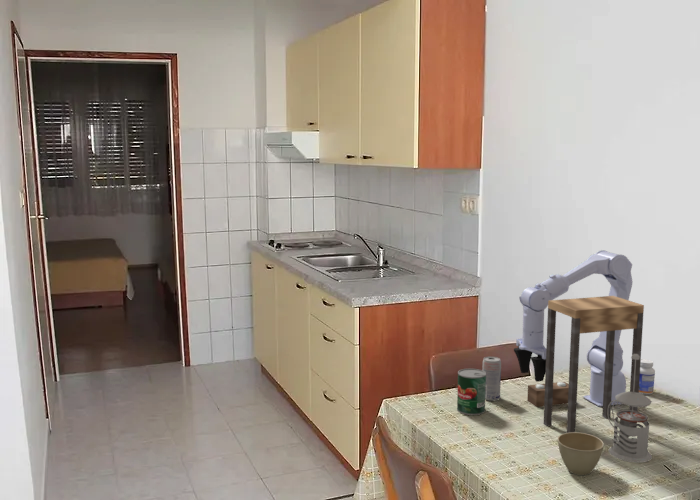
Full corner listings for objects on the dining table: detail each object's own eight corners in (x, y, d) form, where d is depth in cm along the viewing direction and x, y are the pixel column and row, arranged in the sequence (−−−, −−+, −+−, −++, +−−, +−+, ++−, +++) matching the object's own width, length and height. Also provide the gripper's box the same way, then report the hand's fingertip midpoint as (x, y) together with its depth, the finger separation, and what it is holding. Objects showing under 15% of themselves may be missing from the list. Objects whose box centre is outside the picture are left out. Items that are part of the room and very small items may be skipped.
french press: (632, 465, 160) (638, 362, 156) (593, 447, 170) (598, 349, 166) (661, 457, 164) (667, 356, 161) (621, 439, 174) (627, 344, 171)
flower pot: (549, 461, 162) (551, 432, 161) (590, 459, 163) (592, 431, 162) (566, 481, 152) (568, 451, 151) (610, 479, 153) (611, 449, 152)
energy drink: (499, 395, 206) (500, 356, 205) (501, 401, 201) (502, 361, 199) (481, 394, 207) (481, 356, 205) (482, 400, 202) (483, 361, 200)
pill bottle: (632, 388, 212) (634, 358, 210) (650, 389, 211) (652, 358, 209) (637, 394, 206) (638, 363, 205) (655, 395, 206) (657, 364, 204)
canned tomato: (454, 413, 192) (454, 375, 191) (460, 403, 200) (461, 367, 198) (482, 416, 189) (483, 378, 188) (487, 407, 197) (488, 370, 195)
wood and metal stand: (606, 415, 190) (613, 295, 185) (636, 432, 178) (643, 305, 174) (543, 424, 184) (548, 300, 179) (569, 442, 173) (575, 310, 168)
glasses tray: (563, 397, 204) (564, 380, 204) (573, 403, 200) (573, 385, 199) (527, 401, 201) (528, 383, 201) (536, 407, 197) (536, 389, 196)
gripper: (507, 325, 198) (506, 370, 200) (534, 338, 185) (533, 386, 187) (528, 323, 200) (527, 367, 202) (557, 335, 187) (555, 383, 189)
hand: (531, 376), depth 195 cm, fingers open, 7 cm apart
